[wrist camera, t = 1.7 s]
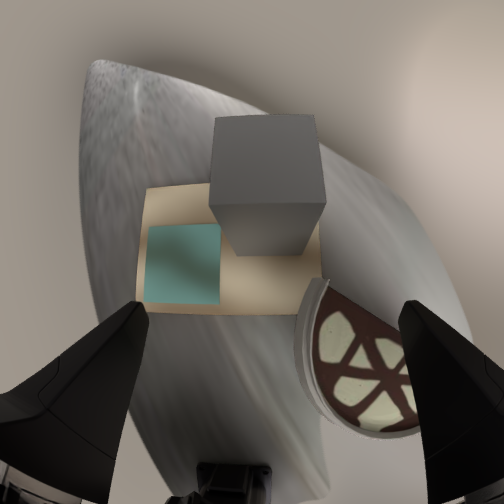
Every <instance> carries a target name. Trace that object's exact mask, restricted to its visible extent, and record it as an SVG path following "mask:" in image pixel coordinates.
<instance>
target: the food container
mask: <svg viewBox="0 0 504 504" xmlns="http://www.w3.org/2000/svg"><path fill="white" fill-rule="evenodd" d="M329 281H330V279H327V280H325V279H323V278H322V277H317V278H312V280H311V282H310V284H309V286H308V288H307V290H306V291H305V293H304V296H303V299H302V302H301V305H300V308H299V311H298V315H297V321H296V326H295V334H294V354H295V363H296V369H297V372H298V376H299V379H300V383H301V385H302V387H303V389H304V391H305V393H306V395H307V397H308V399H309V400H310V402H311V403H312V404H313V406H314V407H315V408H316V410H317V411H318V412H319V413H321V414H322V415H323V416H324V417H325V418H326V419H327V420H328V421H330V422H331V423H333V424H335V425H336V426H338V427H340V428H341V429H343V430H345V431H346V432H348V433H350V434H353V435H356V436H358V437H361V438H366V439H373V440H398V439H403V438H407V437H412V436H414V435H417V434H419V433H421V431H420V425H419V420H418V414H417V409H416V404H415V400H414V395H413V391H412V387H411V382H410V378H409V374H408V370H407V367H406V362H405V358H404V352H403V346H402V341H401V335H400V332H399V331H398V330H396V329H395V328H393V327H391V326H390V325H388V324H387V323H385V322H384V321H382V320H381V319H379V318H377V317H376V316H374V315H373V314H371V313H370V312H368V311H367V310H365V309H363V308H362V307H360V306H359V305H357V304H356V303H354V302H353V301H351V300H349V299H348V298H346V297H345V296H343V295H342V294H340V293H338V292H337V291H335V290H334V289H332V288H330V287H329V286H328V283H329ZM327 286H328V287H327Z"/></svg>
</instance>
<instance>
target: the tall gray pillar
mask: <svg viewBox="0 0 504 504" xmlns="http://www.w3.org/2000/svg"><path fill="white" fill-rule="evenodd" d="M325 205H326V194H325V185H324V177H323V170H322V163H321V156H320V149H319V143H318V137H317V131H316V126H315V120H314V115H299V114H298V115H295V114H278V115H277V114H274V115H245V116H230V117H218V118H215V126H214V137H213V148H212V160H211V173H210V187H209V203H208V206H209V207H210V209H211V211H212V213H213V215H214V216H215V218H216V220H217V222H218V224H219V225H220V227H221V229H222V231H223V233H224V234H225V236H226V238H227V240H228V242H229V243H230V245H231V247H232V249H233V250H234V252H235V254H236V256H291V255H302V254H303V252H304V250H305V247H306V245H307V243H308V241H309V239H310V237H311V235H312V233H313V231H314V229H315V227H316V224H317V222H318V220H319V218H320V216H321V214H322V211H323V209H324V207H325Z"/></svg>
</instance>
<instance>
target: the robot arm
mask: <svg viewBox="0 0 504 504" xmlns="http://www.w3.org/2000/svg"><path fill="white" fill-rule="evenodd" d="M398 325H399V330H400V335H401V341H402V346H403V352H404V358H405V362H406V367H407V370H408V374H409V378H410V382H411V387H412V391H413V395H414V400H415V404H416V409H417V414H418V420H419V425H420V431H421V437H422V444H423V450H424V459H425V469H426V479H427V492H428V504H442V503H446V502H449V501H451V500H455V499H457V498H460V497H463V496H464V500H462V501H461V502H459V503H457V504H504V370H503V369H502V368H500V367H499V366H498V365H497V364H496V363H494V362H493V361H492V360H491V359H490V358H489V357H487V356H486V355H484V353H483V352H481V351H480V350H479V349H478V348H477V347H476V346H474V345H473V344H472V343H471V342H470V341H468V340H467V339H466V338H465V337H463V336H462V335H461V334H460V333H459V332H457V331H456V330H455V329H454V328H452V327H451V326H450V325H449V324H447V323H446V322H445V321H443V320H442V319H441V318H440V317H438V316H437V315H436V314H434V313H433V312H432V311H431V310H429V309H428V308H427V307H425V306H424V305H423V304H421V303H420V302H419V301H417V300H408V301H406V302H405V303H404V306H403V308H402V311H401V313H400V316H399V319H398ZM148 327H149V318H148V315H147V313H146V310H145V307H144V305H143V303H142V302H140V301H130V302H129V303H127V304H126V305H125V306H123V307H122V308H121V309H119V310H118V311H117V312H115V313H114V314H113V315H111V316H110V317H109V318H107V319H106V320H105V321H103V322H102V323H101V324H99V325H98V326H97V327H95V328H94V329H93V330H91V331H90V332H89V333H88V334H86V335H85V336H84V337H82V338H81V339H80V340H78V341H77V342H76V343H75V344H73V345H72V346H71V347H69V348H68V349H67V350H66V351H64V352H63V353H62V354H61V355H60V356H58V357H57V358H55V359H54V360H53V361H52V362H50V363H49V364H48V365H46V366H45V367H44V368H42V369H41V370H40V371H38V372H37V373H35V374H34V375H32V376H31V377H30V378H28V379H27V380H25V381H24V382H22V383H21V384H19V385H18V386H16V387H15V388H13V389H12V390H10V391H8V392H6V393H3V394H0V504H81V502H82V499H84V500H87V501H90V502H93V503H97V504H108V499H109V493H110V487H111V482H112V476H113V472H114V467H115V460H116V456H117V452H118V447H119V443H120V438H121V434H122V430H123V426H124V422H125V418H126V414H127V411H128V407H129V403H130V400H131V396H132V392H133V389H134V385H135V382H136V378H137V375H138V372H139V368H140V365H141V361H142V357H143V352H144V347H145V342H146V337H147V332H148ZM201 466H202V467H204V468H205V469H203V468H201ZM196 469H197V479H198V487H199V494H198V493H197V492H195V491H193V492H192V493H190V494H189V495H187V496H186V497H175V496H171V497H170V498H169V499H168V500H167V501H166V503H165V504H270V502H271V476H272V470H271V468H270V467H266V466H247V465H231V464H212V463H203V462H200V463H198V465H197V467H196ZM263 471H268V472H267V473H265V472H263Z"/></svg>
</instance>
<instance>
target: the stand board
mask: <svg viewBox="0 0 504 504" xmlns="http://www.w3.org/2000/svg"><path fill="white" fill-rule="evenodd" d="M209 187H210V183H205V184H191V185H179V186H168V187H158V188H148V189H147V190H146V197H145V204H144V211H143V218H142V226H141V235H140V244H139V255H138V268H137V283H136V301H140V302H142V303H143V305H144V307H145V310H146V312H157V313H176V314H202V315H293V314H298V311H299V308H300V305H301V302H302V299H303V296H304V293H305V291H306V290H307V288H308V286H309V284H310V282H311V280H312V278H317V277H322V270H321V252H320V237H319V224H318V222H317V224H316V227H315V229H314V231H313V233H312V235H311V237H310V239H309V241H308V243H307V245H306V247H305V250H304V252H303V254H302V255H291V256H236V254H235V252H234V250H233V249H232V247H231V245H230V243H229V242H228V240H227V238H226V236H225V234H224V233H223V231H222V229H221V227H220V225H219V224H218V222H217V220H216V218H215V216H214V215H213V213H212V211H211V209H210V207H209V206H208V203H209Z"/></svg>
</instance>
